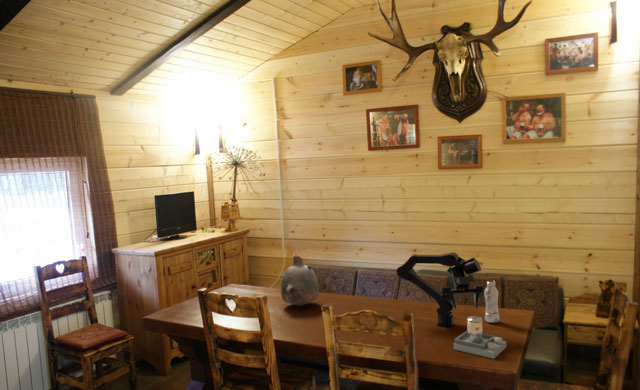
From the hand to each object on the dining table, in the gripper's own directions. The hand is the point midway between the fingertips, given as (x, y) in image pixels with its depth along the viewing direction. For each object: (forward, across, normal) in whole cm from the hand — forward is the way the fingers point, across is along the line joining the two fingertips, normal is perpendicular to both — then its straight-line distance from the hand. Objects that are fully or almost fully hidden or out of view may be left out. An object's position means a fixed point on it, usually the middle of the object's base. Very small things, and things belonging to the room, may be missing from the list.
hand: (466, 308), depth 213 cm
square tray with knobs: (+18, +2, 0) cm, 19 cm away
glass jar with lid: (+16, 0, -2) cm, 16 cm away
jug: (-28, -80, +47) cm, 97 cm away
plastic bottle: (-3, +16, +22) cm, 28 cm away
